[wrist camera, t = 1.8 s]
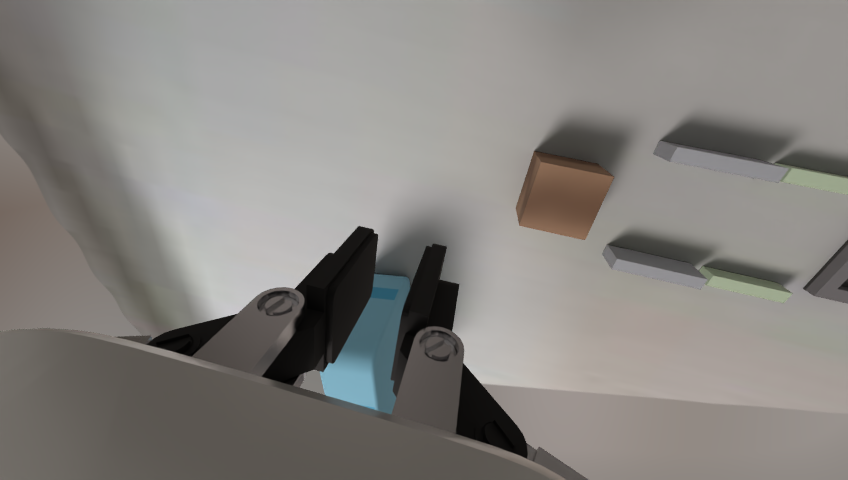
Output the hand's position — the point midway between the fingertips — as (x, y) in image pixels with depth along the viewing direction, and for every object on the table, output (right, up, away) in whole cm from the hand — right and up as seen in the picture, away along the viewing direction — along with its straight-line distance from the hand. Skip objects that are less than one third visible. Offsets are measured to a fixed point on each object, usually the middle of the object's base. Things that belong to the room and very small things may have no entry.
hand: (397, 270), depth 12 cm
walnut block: (+12, +6, +14) cm, 20 cm away
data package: (-3, -7, +24) cm, 25 cm away
